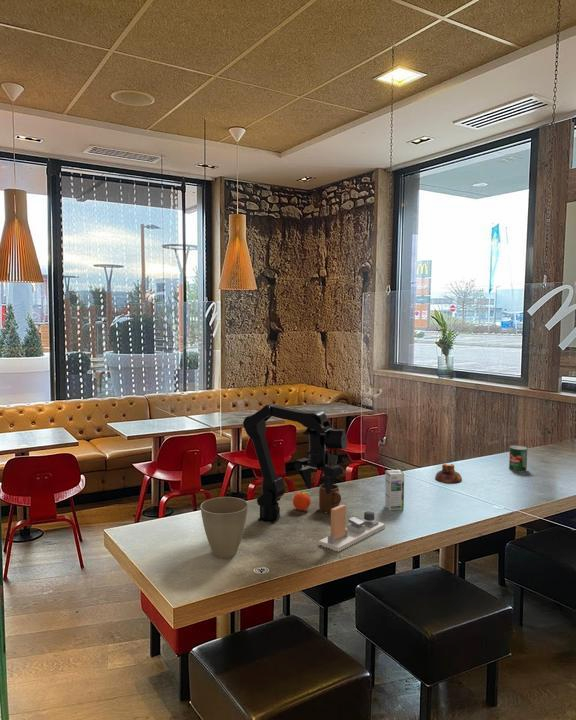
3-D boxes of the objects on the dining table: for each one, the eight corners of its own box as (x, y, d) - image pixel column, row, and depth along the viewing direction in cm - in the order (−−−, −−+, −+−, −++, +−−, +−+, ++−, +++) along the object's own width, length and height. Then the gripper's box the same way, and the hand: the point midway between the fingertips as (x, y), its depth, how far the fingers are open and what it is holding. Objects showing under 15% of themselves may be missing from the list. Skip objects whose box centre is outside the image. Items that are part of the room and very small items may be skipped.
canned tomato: (526, 468, 276) (527, 446, 275) (526, 472, 269) (527, 450, 268) (509, 466, 280) (510, 444, 279) (508, 470, 273) (509, 448, 271)
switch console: (319, 545, 187) (319, 533, 187) (366, 522, 207) (366, 511, 207) (338, 552, 182) (338, 540, 182) (384, 528, 202) (385, 517, 201)
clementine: (310, 505, 224) (310, 488, 223) (315, 512, 217) (315, 494, 217) (290, 507, 222) (291, 489, 222) (294, 513, 216) (295, 495, 215)
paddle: (330, 540, 186) (330, 509, 185) (341, 535, 191) (342, 504, 190) (334, 542, 185) (334, 510, 184) (345, 536, 190) (345, 505, 189)
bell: (430, 480, 258) (431, 464, 257) (442, 474, 267) (442, 459, 266) (455, 485, 251) (455, 469, 250) (466, 479, 260) (466, 463, 259)
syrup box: (389, 510, 219) (390, 473, 218) (384, 505, 225) (385, 469, 223) (403, 510, 220) (404, 473, 218) (398, 504, 226) (399, 468, 224)
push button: (362, 518, 201) (362, 513, 201) (367, 516, 204) (367, 510, 204) (370, 521, 199) (370, 515, 198) (376, 518, 201) (376, 513, 201)
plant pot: (192, 550, 183) (192, 502, 181) (233, 540, 191) (233, 493, 190) (214, 568, 171) (214, 516, 169) (257, 556, 179) (256, 506, 178)
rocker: (348, 522, 196) (348, 519, 195) (353, 520, 198) (353, 516, 198) (358, 528, 193) (359, 524, 193) (363, 525, 195) (364, 522, 195)
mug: (348, 515, 214) (348, 491, 213) (330, 518, 210) (331, 494, 209) (332, 505, 224) (332, 482, 223) (315, 508, 221) (315, 484, 220)
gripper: (352, 447, 197) (354, 491, 198) (314, 439, 211) (315, 481, 212) (331, 453, 190) (332, 499, 191) (292, 445, 203) (293, 488, 204)
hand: (318, 491), depth 200 cm, fingers open, 9 cm apart
